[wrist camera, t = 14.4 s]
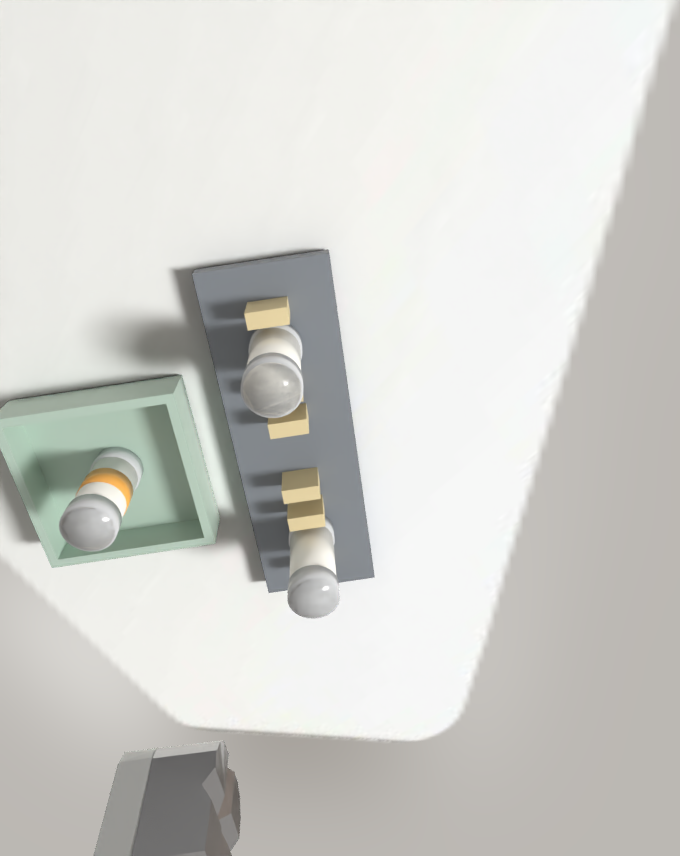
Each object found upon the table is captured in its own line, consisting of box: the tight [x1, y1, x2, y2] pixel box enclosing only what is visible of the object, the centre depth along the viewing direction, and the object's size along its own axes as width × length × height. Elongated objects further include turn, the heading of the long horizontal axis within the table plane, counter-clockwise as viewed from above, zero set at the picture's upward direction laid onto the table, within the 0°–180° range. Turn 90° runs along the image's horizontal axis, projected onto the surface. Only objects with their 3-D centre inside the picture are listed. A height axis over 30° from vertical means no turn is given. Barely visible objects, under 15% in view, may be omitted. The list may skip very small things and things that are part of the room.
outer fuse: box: [288, 516, 340, 618], centre depth 41 cm, size 3×3×7 cm
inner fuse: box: [241, 324, 303, 418], centre depth 35 cm, size 3×3×7 cm
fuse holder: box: [192, 250, 374, 593], centre depth 41 cm, size 24×8×4 cm, turn 8°
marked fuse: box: [59, 447, 143, 551], centre depth 39 cm, size 3×3×7 cm
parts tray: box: [0, 375, 220, 568], centre depth 41 cm, size 11×11×3 cm
